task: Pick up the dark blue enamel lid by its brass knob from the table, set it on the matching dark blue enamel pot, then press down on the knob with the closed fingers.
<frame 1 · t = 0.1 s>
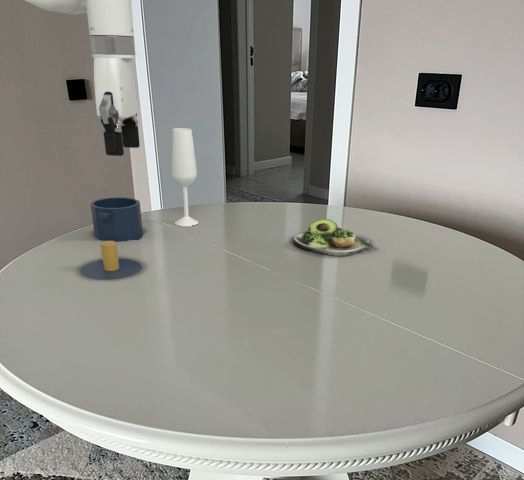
hand: (123, 151, 102), 24 cm above the table, tool pointing down, fingers open, 9 cm apart
champagne flute: (186, 223, 146), on the table
lid: (111, 270, 112), point 1 cm above the table
pot: (119, 236, 134), on the table
salad plate: (329, 245, 132), on the table
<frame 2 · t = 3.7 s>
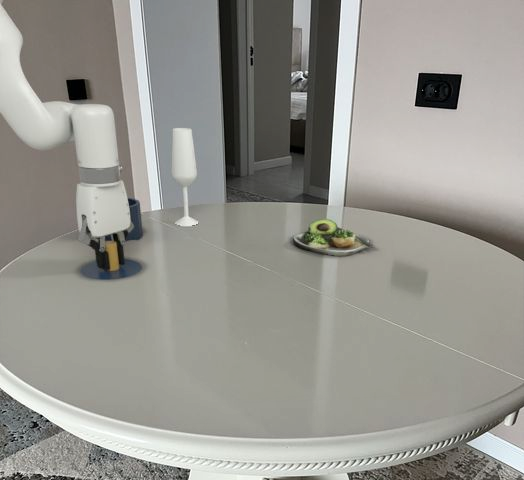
hand: (111, 265, 111), 2 cm above the table, tool pointing down, fingers closed on lid, 3 cm apart
lid: (111, 270, 112), point 1 cm above the table, touching gripper
everything else where it was.
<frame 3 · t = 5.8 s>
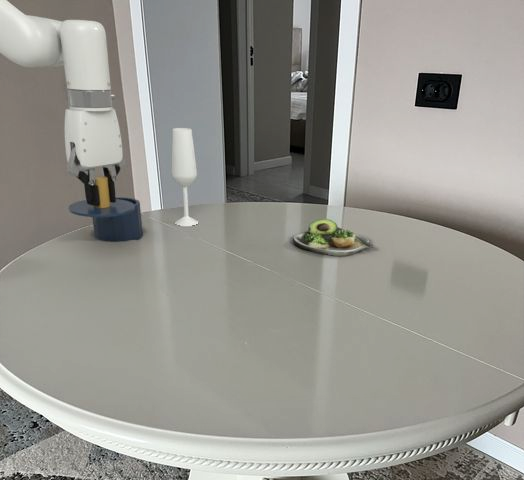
hand: (101, 202, 105), 15 cm above the table, tool pointing down, fingers closed on lid, 3 cm apart
lid: (102, 208, 105), point 14 cm above the table, touching gripper
everything else where it was.
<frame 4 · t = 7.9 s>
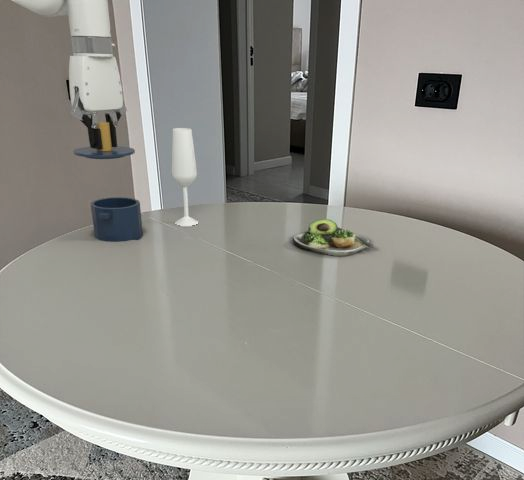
hand: (103, 146, 113), 23 cm above the table, tool pointing down, fingers closed on lid, 3 cm apart
lid: (104, 152, 113), point 22 cm above the table, touching gripper
everything else where it was.
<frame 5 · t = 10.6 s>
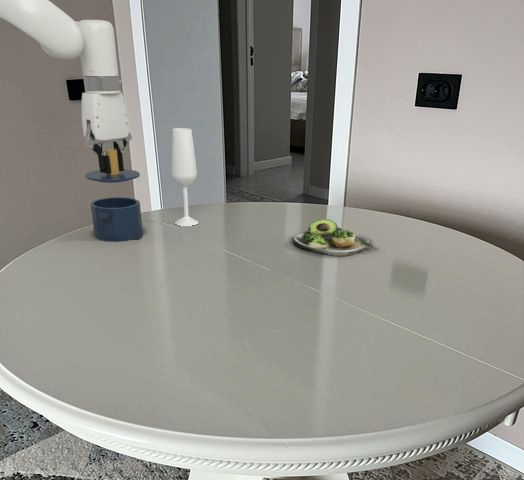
hand: (112, 170, 126), 16 cm above the table, tool pointing down, fingers closed on lid, 3 cm apart
lid: (112, 176, 127), point 15 cm above the table, touching gripper
everything else where it was.
when the fingers open (10 cm above the table, at t = 12.3 s): lid stays where it is, resting on pot.
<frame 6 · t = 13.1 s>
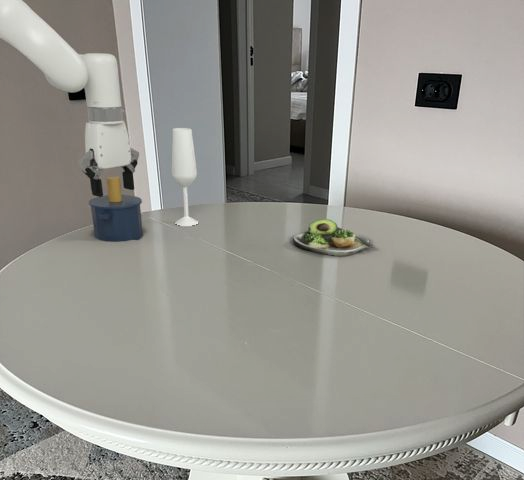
hand: (113, 192, 129), 11 cm above the table, tool pointing down, fingers open, 9 cm apart
lid: (115, 202, 130), point 8 cm above the table, touching pot
everything else where it was.
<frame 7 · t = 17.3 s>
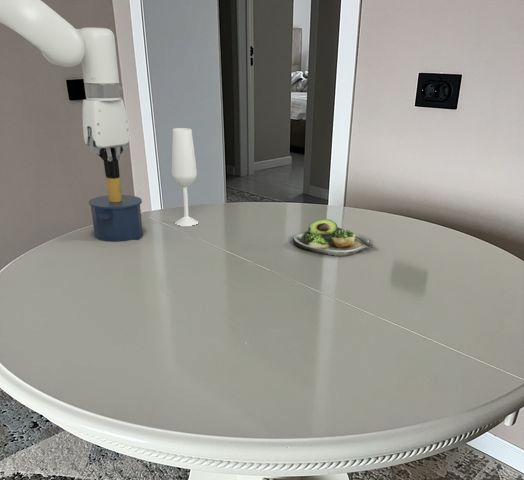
hand: (112, 177, 127), 15 cm above the table, tool pointing down, fingers closed
lid: (115, 202, 130), point 8 cm above the table, touching gripper, pot
everything else where it was.
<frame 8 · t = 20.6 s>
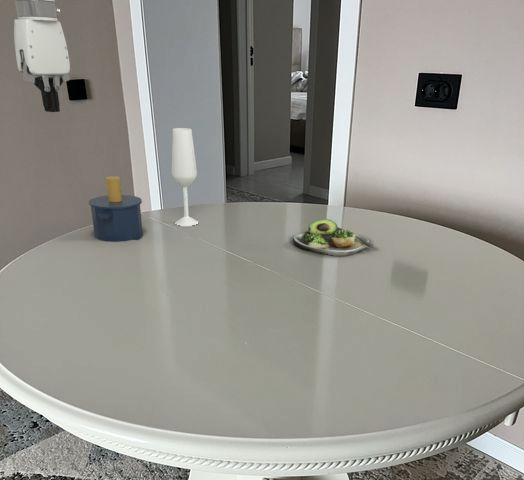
hand: (52, 111, 116), 29 cm above the table, tool pointing down, fingers closed
lid: (115, 202, 130), point 8 cm above the table, touching pot
everything else where it was.
at the end: lid 0.1 cm off-centre on the pot, point 8.5 cm above the pot's base; lid tilted 0°; the gripper is holding nothing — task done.
